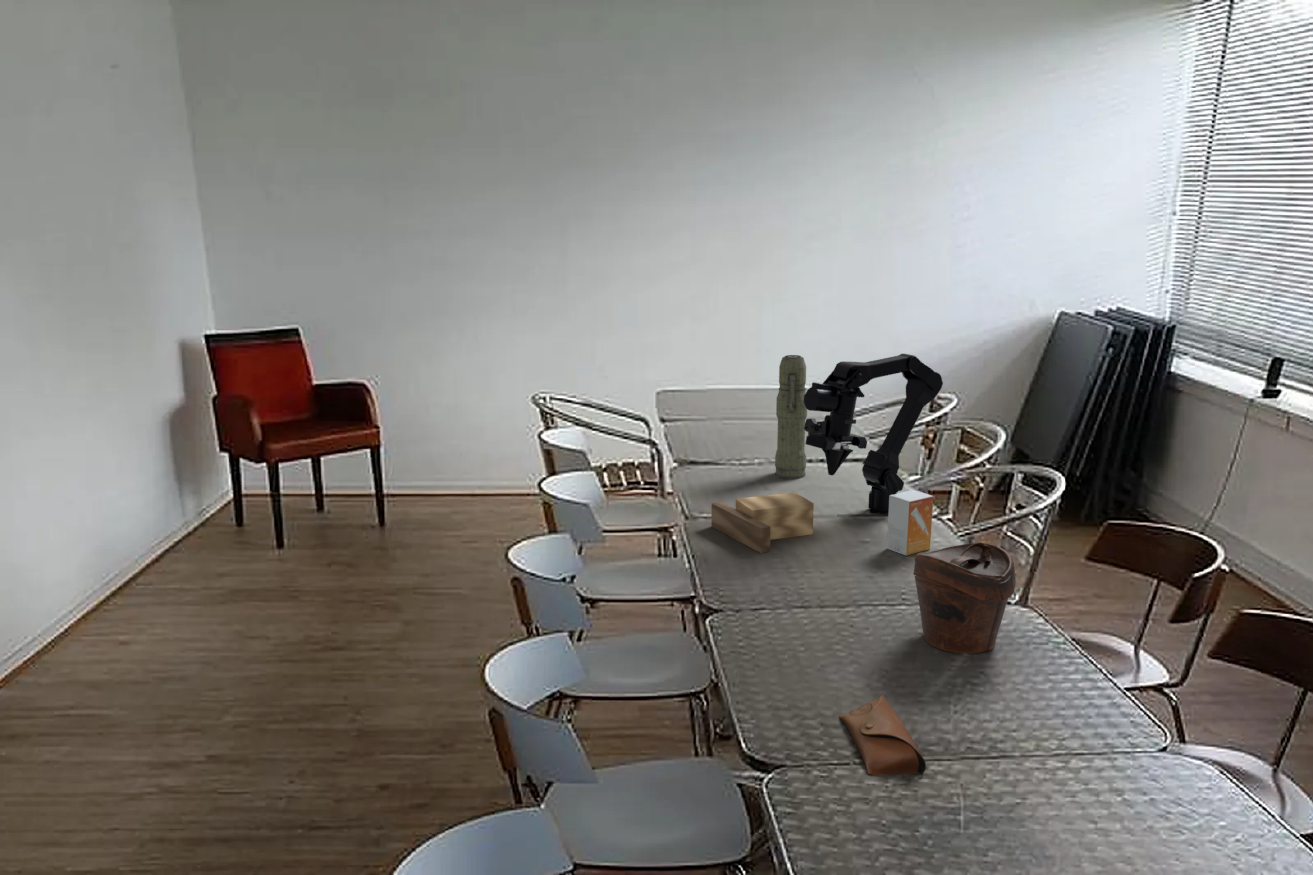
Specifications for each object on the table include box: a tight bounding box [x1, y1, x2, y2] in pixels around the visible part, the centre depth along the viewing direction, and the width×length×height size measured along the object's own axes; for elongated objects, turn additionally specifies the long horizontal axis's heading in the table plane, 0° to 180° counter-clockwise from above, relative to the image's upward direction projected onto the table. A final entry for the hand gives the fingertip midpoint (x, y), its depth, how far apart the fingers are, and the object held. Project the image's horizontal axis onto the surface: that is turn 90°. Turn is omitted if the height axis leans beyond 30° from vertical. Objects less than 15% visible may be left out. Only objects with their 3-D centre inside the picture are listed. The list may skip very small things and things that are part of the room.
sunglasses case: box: [838, 694, 927, 777], centre depth 152 cm, size 18×7×7 cm, turn 6°
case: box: [913, 542, 1017, 655], centre depth 185 cm, size 18×20×18 cm
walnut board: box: [710, 501, 771, 554], centre depth 242 cm, size 2×22×6 cm, turn 28°
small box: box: [886, 489, 934, 557], centre depth 233 cm, size 8×6×13 cm
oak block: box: [735, 491, 815, 541], centre depth 246 cm, size 16×10×8 cm, turn 109°
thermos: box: [774, 354, 808, 480], centre depth 293 cm, size 9×12×35 cm
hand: (830, 475), depth 252 cm, fingers closed
